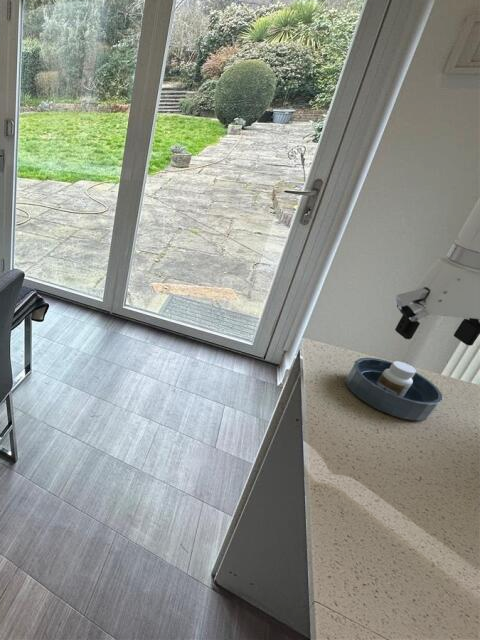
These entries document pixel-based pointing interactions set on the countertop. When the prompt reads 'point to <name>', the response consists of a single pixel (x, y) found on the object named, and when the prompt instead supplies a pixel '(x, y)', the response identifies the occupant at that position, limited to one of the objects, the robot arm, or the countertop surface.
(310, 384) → the countertop surface
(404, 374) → the pill bottle
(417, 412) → the bowl
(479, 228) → the robot arm
